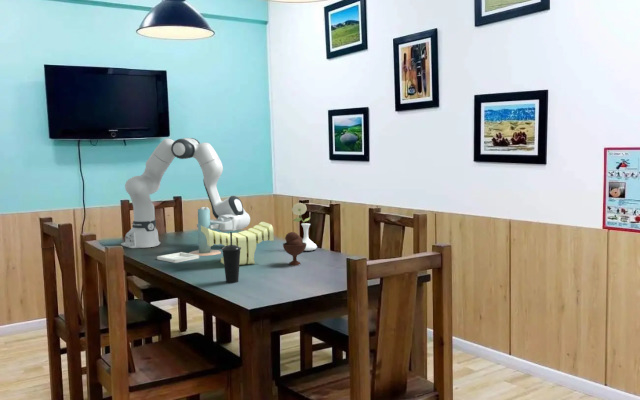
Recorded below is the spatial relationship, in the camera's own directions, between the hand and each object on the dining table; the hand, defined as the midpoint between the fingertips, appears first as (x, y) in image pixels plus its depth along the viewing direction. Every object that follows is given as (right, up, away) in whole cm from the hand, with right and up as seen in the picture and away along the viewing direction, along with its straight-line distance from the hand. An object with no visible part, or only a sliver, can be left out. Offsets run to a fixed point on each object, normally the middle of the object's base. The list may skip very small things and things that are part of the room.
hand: (203, 226), depth 291 cm
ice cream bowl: (+47, -16, -26) cm, 56 cm away
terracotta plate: (0, -14, +2) cm, 14 cm away
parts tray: (-10, -16, -14) cm, 23 cm away
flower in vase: (+51, -13, +9) cm, 53 cm away
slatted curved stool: (+20, -16, -23) cm, 35 cm away
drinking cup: (+23, -20, -60) cm, 67 cm away
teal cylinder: (0, -13, +2) cm, 13 cm away
